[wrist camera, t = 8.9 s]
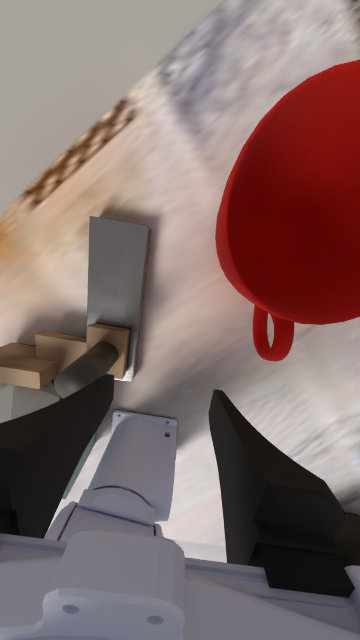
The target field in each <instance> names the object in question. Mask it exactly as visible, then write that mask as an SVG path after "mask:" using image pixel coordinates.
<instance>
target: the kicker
mask: <svg viewBox="0 0 360 640" xmlns="http://www.w3.org/2000/svg"><path fill="white" fill-rule="evenodd" d="M129 333H130V329H125V328H119V327H113V326H107V325H101V324H95V323H92V324H90V325H88V326H87V338H83V337H77V336H70V335H64V334H58V333H52V332H46V331H43V332H40V333H38V334H35V343H36V346H30V345H23V344H17V343H10V344H8V345H5V346H3V347H0V383H3V384H9V385H16V386H22V387H28V388H35V389H41V388H42V387H44V386H45V385H46V384H47V383H49V382H50V381H51V380H53V379H54V378H55V379H54V388H55V390H56V392H57V394H58V395H59V396H60V397H61V398H63V399H64V398H66V397H67V396H69V395H71V394H73V393H75V392H76V391H78V390H80V389H82V388H83V387H85V386H87V385H88V384H90V383H92V382H93V381H95V380H96V379H98V378H100V377H101V376H103V375H105V374H111V375H114V378H115V379H123V378H124V376H125V374H126V365H127V354H128V344H129Z"/></svg>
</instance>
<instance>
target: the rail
mask: <svg viewBox="0 0 360 640" xmlns="http://www.w3.org/2000/svg"><path fill="white" fill-rule="evenodd" d="M150 234H151V229H150V228H149V226H145V225H139V224H134V223H128V222H122V221H116V220H111V219H105V218H99V217H93V216H90V228H89V267H88V305H87V326H88V325H90V324H92V323H95V324H101V325H107V326H113V327H119V328H125V329H130V333H129V344H128V354H127V365H126V374H125V376H124V378H123V379H116V380H123V381H129V382H132V381H133V378H134V376H135V371H136V362H137V353H138V343H139V334H140V325H141V316H142V307H143V298H144V289H145V279H146V270H147V261H148V252H149V243H150ZM114 379H115V378H114Z"/></svg>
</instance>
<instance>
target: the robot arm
mask: <svg viewBox="0 0 360 640" xmlns="http://www.w3.org/2000/svg"><path fill="white" fill-rule="evenodd" d="M113 390H114V375H111V374H105V375H103V376H101V377H100V378H98V379H96V380H95V381H93V382H92V383H90V384H88V385H87V386H85V387H83V388H82V389H80V390H78V391H76V392H75V393H73V394H71V395H69V396H67V397H66V398H64V399H62V400H60V401H57V402H55V403H53V404H51V405H49V406H46V407H44V408H42V409H39V410H37V411H34V412H31V413H29V414H26V415H24V416H21V417H18V418H15V419H12V420H9V421H5V422H2V423H0V640H360V566H355V565H354V566H347V567H345V568H344V567H343V565H342V563H341V561H340V559H339V557H338V556H337V555H339V554H340V551H339V548H338V546H337V545H336V543H335V541H334V539H333V537H334V536H335V534H336V532H337V530H338V529H339V527H340V525H341V523H342V521H343V509H342V507H341V505H340V503H339V502H338V500H337V499H336V497H335V496H334V494H333V493H332V491H331V490H330V488H329V487H328V486H327V484H326V483H325V481H323V480H322V479H320V478H319V477H317V476H316V475H314V474H313V473H311V472H310V471H308V470H306V469H305V468H303V467H302V466H300V465H299V464H298V463H296V462H295V461H293V460H292V459H291V458H289V457H288V456H287V455H285V454H284V453H283V452H281V451H280V450H279V449H278V448H276V447H275V446H274V445H273V444H272V443H270V442H269V441H268V440H267V439H266V438H265V437H263V436H262V435H261V434H260V433H259V432H258V431H257V430H256V429H255V428H254V427H253V426H252V425H251V424H250V423H249V422H248V421H247V420H246V419H245V417H244V416H243V415H242V414H241V413H240V412H239V411H238V409H237V408H236V407H235V406H234V404H233V403H232V402H231V401H230V399H229V398H228V397H227V396H226V394H225V393H224V392H223V391H222V390H215V389H214V392H213V396H212V400H211V405H210V409H209V424H210V431H211V436H212V441H213V446H214V451H215V455H216V460H217V466H218V472H219V480H220V488H221V498H222V508H223V518H224V529H225V541H226V554H227V563H223V562H214V561H207V560H200V559H192V558H185V557H184V551H183V550H182V548H181V547H180V546H179V545H178V544H176V543H175V542H174V541H173V540H170V539H167V538H164V536H163V533H162V529H161V526H160V525H159V524H155V523H154V522H159V521H168V518H169V514H170V508H171V502H172V494H173V484H174V472H175V460H176V433H177V423H178V422H177V420H176V419H170V418H164V417H157V416H151V415H144V414H138V413H131V412H125V411H118V410H115V411H114V412H113V414H112V427H111V439H110V441H109V443H108V445H107V448H106V450H105V452H104V454H103V456H102V459H101V461H100V463H99V465H98V468H97V470H96V472H95V474H94V476H93V479H92V481H91V483H90V485H89V487H88V489H85V490H84V492H83V494H82V496H81V498H80V500H79V503H76V502H74V501H72V502H70V503H69V504H68V505H67V506H66V507H64V508H63V509H62V510H61V511H60V512H59V514H58V515H57V517H56V518H55V520H54V522H53V523H52V525H51V527H50V529H49V531H48V528H49V526H50V524H51V521H52V519H53V517H54V514H55V512H56V510H57V508H58V506H59V503H60V501H61V499H62V497H63V494H64V492H65V490H66V488H67V486H68V484H69V482H70V479H71V477H72V475H73V473H74V471H75V469H76V467H77V465H78V463H79V461H80V459H81V457H82V455H83V453H84V451H85V449H86V447H87V445H88V444H89V442H90V440H91V439H92V437H93V435H94V434H95V432H96V430H97V429H98V427H99V425H100V424H101V422H102V420H103V419H104V417H105V415H106V414H107V412H108V409H109V407H110V405H111V403H112V400H113ZM119 414H120V415H119ZM166 421H168V422H166ZM77 504H78V505H77ZM47 531H48V532H47ZM46 533H47V534H46ZM45 535H46V536H45Z"/></svg>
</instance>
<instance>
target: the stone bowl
mask: <svg viewBox="0 0 360 640" xmlns="http://www.w3.org/2000/svg"><path fill="white" fill-rule="evenodd" d="M333 539H334V541H335V543H336V545H337V546H338V548H339V551H340V554H339V555H337V556H338V557H339V559H340V561H341V563H342V565H343V567H344V568H345V567H347V566H354V565H355V566H360V516H359V515H351V514H343V521H342V523H341V525H340V527H339V529H338V530H337V532H336V534H335V536H334V537H333Z"/></svg>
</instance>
